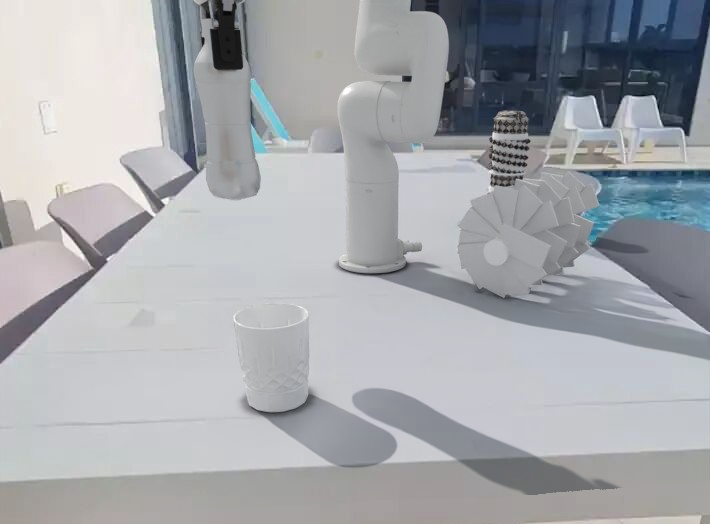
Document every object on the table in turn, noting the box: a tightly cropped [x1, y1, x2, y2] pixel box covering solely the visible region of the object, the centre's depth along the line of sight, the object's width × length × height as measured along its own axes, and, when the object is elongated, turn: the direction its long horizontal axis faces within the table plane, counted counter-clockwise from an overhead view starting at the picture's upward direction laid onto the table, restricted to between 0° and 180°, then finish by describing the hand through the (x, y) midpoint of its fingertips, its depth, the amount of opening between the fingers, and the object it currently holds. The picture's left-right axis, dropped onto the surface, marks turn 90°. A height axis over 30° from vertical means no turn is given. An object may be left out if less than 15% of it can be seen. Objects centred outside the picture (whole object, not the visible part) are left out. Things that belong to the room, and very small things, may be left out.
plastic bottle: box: [192, 19, 262, 201], centre depth 76 cm, size 6×7×20 cm
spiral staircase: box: [457, 170, 601, 299], centre depth 107 cm, size 18×18×25 cm
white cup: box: [232, 302, 310, 413], centre depth 69 cm, size 8×8×10 cm
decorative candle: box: [487, 110, 531, 194], centre depth 147 cm, size 9×9×25 cm
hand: (223, 67), depth 74 cm, fingers closed on plastic bottle, 6 cm apart
